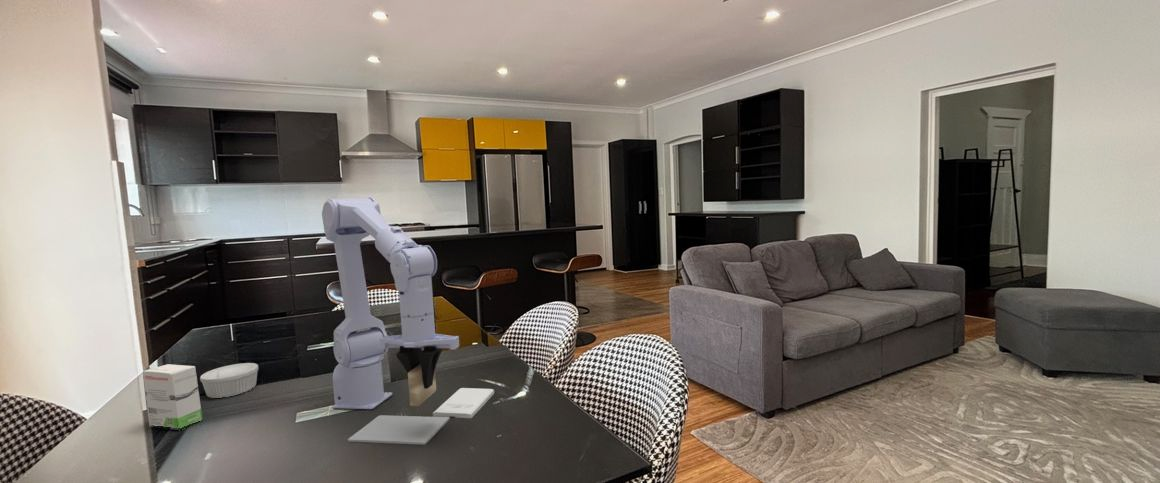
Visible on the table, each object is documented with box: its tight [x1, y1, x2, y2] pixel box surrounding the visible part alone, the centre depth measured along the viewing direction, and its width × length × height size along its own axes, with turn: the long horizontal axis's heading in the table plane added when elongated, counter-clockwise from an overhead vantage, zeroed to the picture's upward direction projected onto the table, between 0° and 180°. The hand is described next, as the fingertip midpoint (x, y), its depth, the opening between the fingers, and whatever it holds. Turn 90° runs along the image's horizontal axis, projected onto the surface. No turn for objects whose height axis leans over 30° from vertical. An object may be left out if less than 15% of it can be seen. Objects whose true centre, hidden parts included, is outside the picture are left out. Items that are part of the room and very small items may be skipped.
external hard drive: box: [432, 387, 495, 419], centre depth 102 cm, size 2×8×12 cm
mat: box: [347, 414, 451, 446], centre depth 91 cm, size 15×10×1 cm, turn 80°
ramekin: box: [199, 362, 259, 399], centre depth 116 cm, size 11×11×5 cm
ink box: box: [142, 363, 203, 429], centre depth 99 cm, size 9×5×12 cm, turn 73°
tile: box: [407, 364, 437, 407], centre depth 89 cm, size 2×7×6 cm, turn 171°
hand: (422, 386), depth 89 cm, fingers closed on tile, 2 cm apart
